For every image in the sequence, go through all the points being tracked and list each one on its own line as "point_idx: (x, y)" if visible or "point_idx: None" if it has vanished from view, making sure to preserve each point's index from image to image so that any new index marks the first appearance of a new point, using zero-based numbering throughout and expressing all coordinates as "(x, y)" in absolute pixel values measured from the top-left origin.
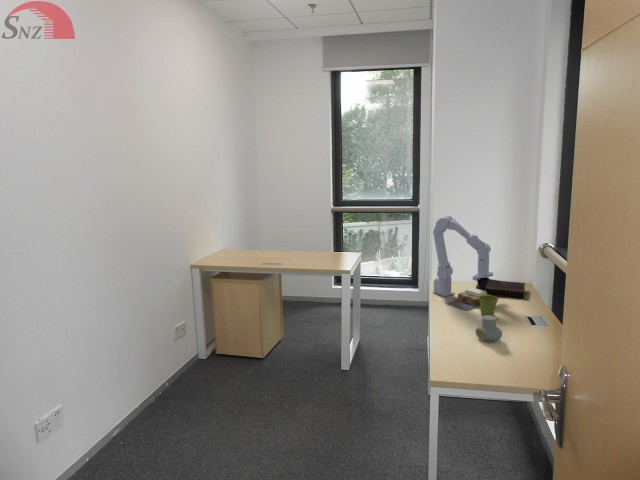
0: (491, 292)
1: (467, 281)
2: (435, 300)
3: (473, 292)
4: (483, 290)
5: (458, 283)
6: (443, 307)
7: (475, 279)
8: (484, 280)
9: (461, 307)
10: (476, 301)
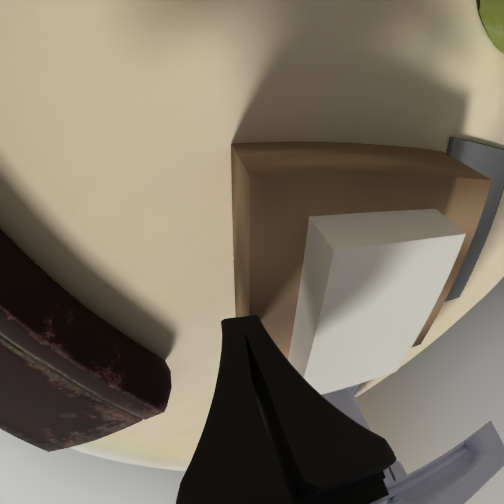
0: (62, 311)
1: (81, 445)
2: (430, 342)
3: (432, 298)
4: (259, 323)
5: (134, 449)
6: (498, 258)
7: (497, 434)
8: (385, 463)
9: (491, 204)
10: (474, 170)
